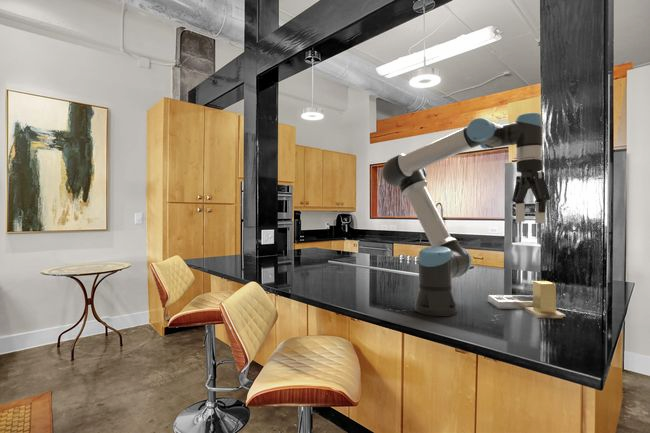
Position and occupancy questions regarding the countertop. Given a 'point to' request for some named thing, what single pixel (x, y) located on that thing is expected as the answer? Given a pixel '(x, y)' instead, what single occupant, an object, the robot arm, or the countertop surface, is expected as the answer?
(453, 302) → the robot arm
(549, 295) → the block
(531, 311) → the coaster
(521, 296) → the white recessed slab
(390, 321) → the countertop surface
